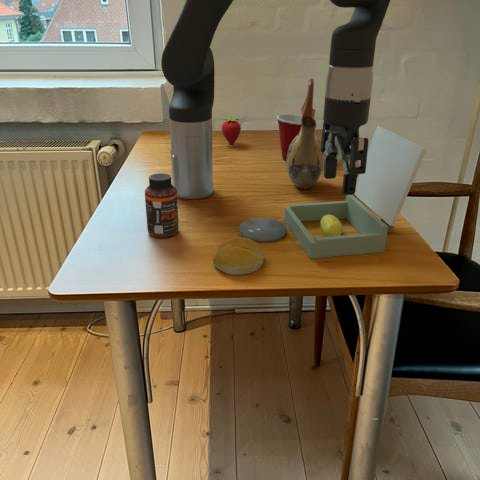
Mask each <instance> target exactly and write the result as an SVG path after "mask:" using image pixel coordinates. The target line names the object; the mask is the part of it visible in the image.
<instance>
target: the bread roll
mask: <svg viewBox="0 0 480 480" xmlns="http://www.w3.org/2000/svg"><path fill="white" fill-rule="evenodd" d="M264 257H265V254H264V250H263V248H262V247H261V246H260V244H259V243H258V242H257V241H253V240H251V239H249V238H245V237H243V236H235V237H232V238H229V239H227V240H225V241H224V242H222V243H221V244H220V246H219V247H218V250H217V252H216V253H215V254H214V256H213V258H212V262H213V263H212V264H213V265H214V267H215V268H217V269H218V270H220V271H221V272H223V273H225V274H227V275H231V276H243V275H247V274H251V273H254V272H256V271H258V270H259V269H260V268H261V267H262V265H264V264H263V263H264Z"/></svg>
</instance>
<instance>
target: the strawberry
mask: <svg viewBox="0 0 480 480" xmlns="http://www.w3.org/2000/svg"><path fill="white" fill-rule="evenodd" d="M221 120H223V121H224V122H223V123H222V125H221V131H222V135H223V137H224V138H225V140H226V141H227V142H228V143H229V145H230V146H233V145H235V143H236V141H237V140H238V138H239V136H240V134H241V129H242V128H241V124H240V123H239V120H240V119H239V118H234V117H231V118H221Z"/></svg>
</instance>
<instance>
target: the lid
mask: <svg viewBox="0 0 480 480" xmlns="http://www.w3.org/2000/svg"><path fill="white" fill-rule="evenodd" d="M426 153H427V149H426V148H424V147H422V146H421V145H418V144H416V143H415V142H412V141H410V140H409V139H406V138H404V137H402V136H401V135H398V134H397V133H395V132H393V131H390V130H388V129H387V128H386V127H385V128H384V127H383V126H381V125H380V126H379V125H377V126H376V128H375V132H374V134H373V137H372V139H371V142H370V145H369V146H368V152H367V162H366V172H365V174H358V175H357V182H356V191H355V194H354V196H356V198H357V199H358V200H360V202H361V203H363V204H365V206H366V207H367V208H368V209H369V210H372V212H374V213H375V215H376V216H377V215H378V216H377V217H380V219H381V218H382V219H383V220H384V221H385V222H386V223H388V224H389V225H390V226H394V225H396V223H397V220H398V218H399V215H400V213H401V210H402V208H403V206H404V204H405V201H406V199H407V197H408V194H409V192H410V190H411V187H412V186H413V182H414V180H415V178H416V176H417V174H418V171H419V169H420V166H421V164H422V162H423V159H424V157H425V155H426ZM394 227H395V226H394Z"/></svg>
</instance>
